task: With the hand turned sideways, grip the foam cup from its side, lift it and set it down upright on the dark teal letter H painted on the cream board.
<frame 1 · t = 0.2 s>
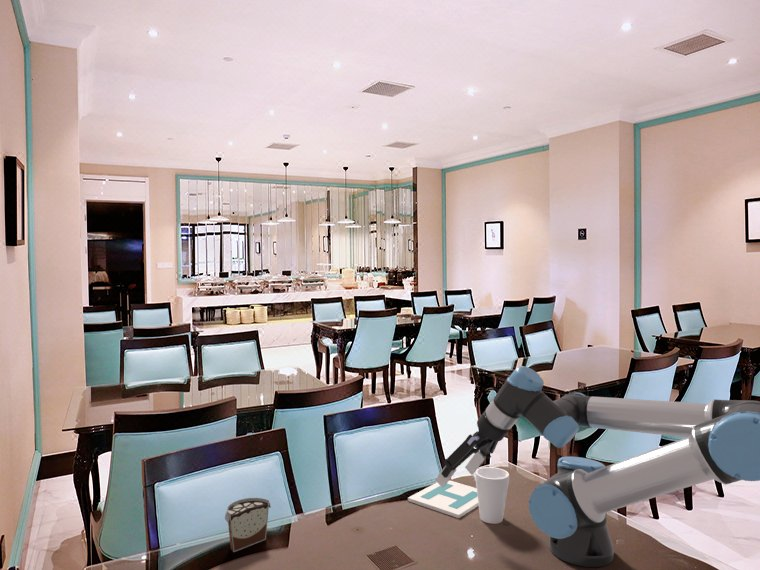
hand: (454, 477, 147), 16 cm above the table, tool tilted 35°, fingers open, 13 cm apart
foam cup: (491, 519, 157), on the table
letter board: (450, 498, 171), on the table
food container: (243, 542, 143), on the table
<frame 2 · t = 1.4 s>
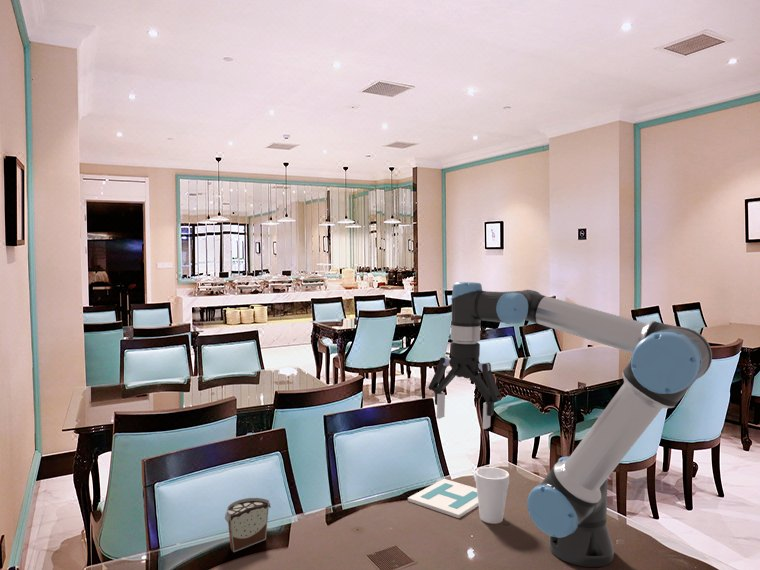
hand: (462, 422, 145), 30 cm above the table, tool pointing down, fingers open, 13 cm apart
nothing on the table moved.
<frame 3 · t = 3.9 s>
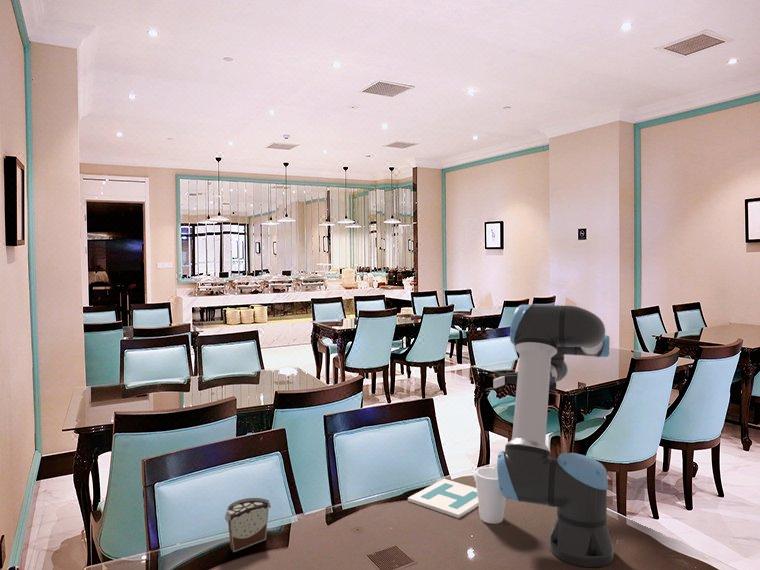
hand: (514, 386, 172), 34 cm above the table, tool horizontal, fingers open, 13 cm apart
nothing on the table moved.
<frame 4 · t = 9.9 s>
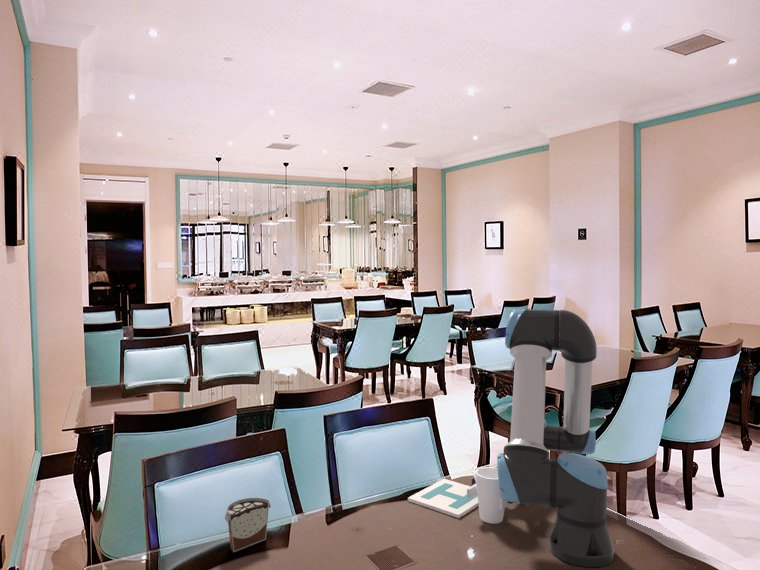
hand: (484, 498, 154), 7 cm above the table, tool horizontal, fingers closed on foam cup, 9 cm apart
foam cup: (491, 519, 157), on the table, touching gripper
everything else where it was.
when the fingers open (10 cm above the table, at t = 15.6 s): foam cup drops 1 cm, resting on letter board.
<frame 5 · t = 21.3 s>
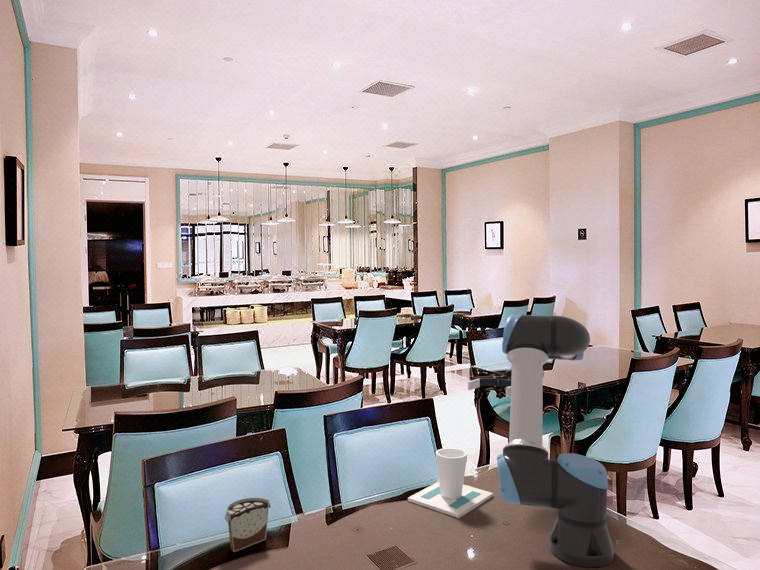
hand: (487, 388, 178), 32 cm above the table, tool horizontal, fingers open, 13 cm apart
foam cup: (450, 495, 171), point 1 cm above the table, touching letter board
everything else where it was.
at the end: foam cup inside the target area on the letter board (0.1 cm from its centre), point 0.9 cm above the letter board's base; foam cup tilted 0°; the gripper is holding nothing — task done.
